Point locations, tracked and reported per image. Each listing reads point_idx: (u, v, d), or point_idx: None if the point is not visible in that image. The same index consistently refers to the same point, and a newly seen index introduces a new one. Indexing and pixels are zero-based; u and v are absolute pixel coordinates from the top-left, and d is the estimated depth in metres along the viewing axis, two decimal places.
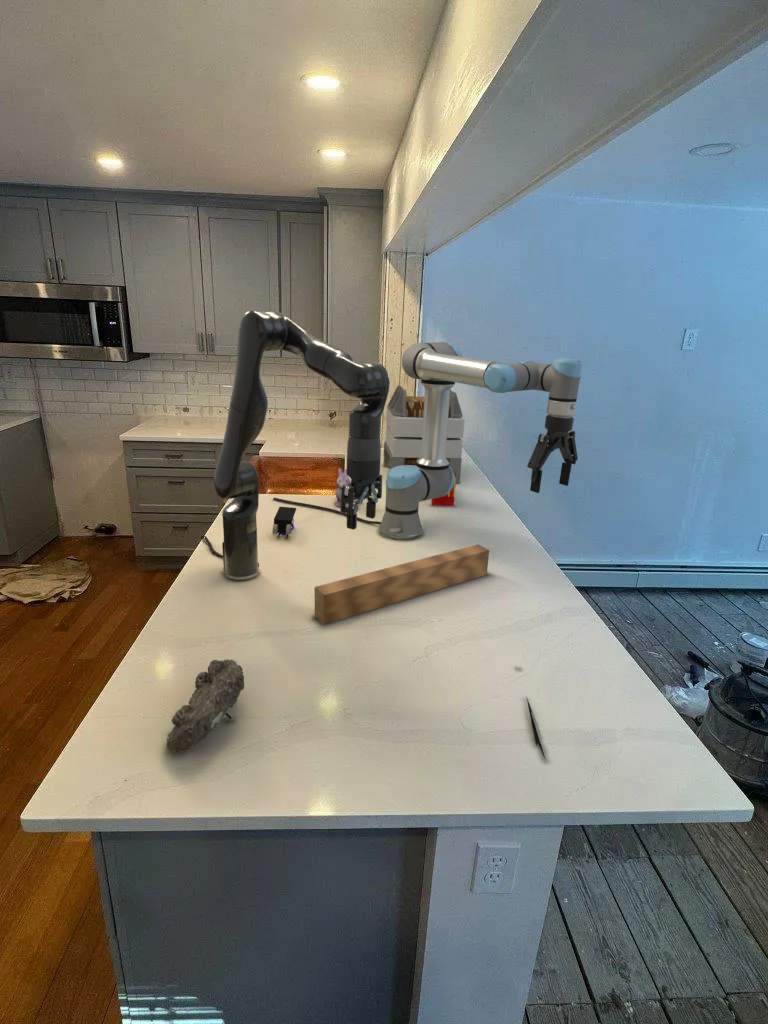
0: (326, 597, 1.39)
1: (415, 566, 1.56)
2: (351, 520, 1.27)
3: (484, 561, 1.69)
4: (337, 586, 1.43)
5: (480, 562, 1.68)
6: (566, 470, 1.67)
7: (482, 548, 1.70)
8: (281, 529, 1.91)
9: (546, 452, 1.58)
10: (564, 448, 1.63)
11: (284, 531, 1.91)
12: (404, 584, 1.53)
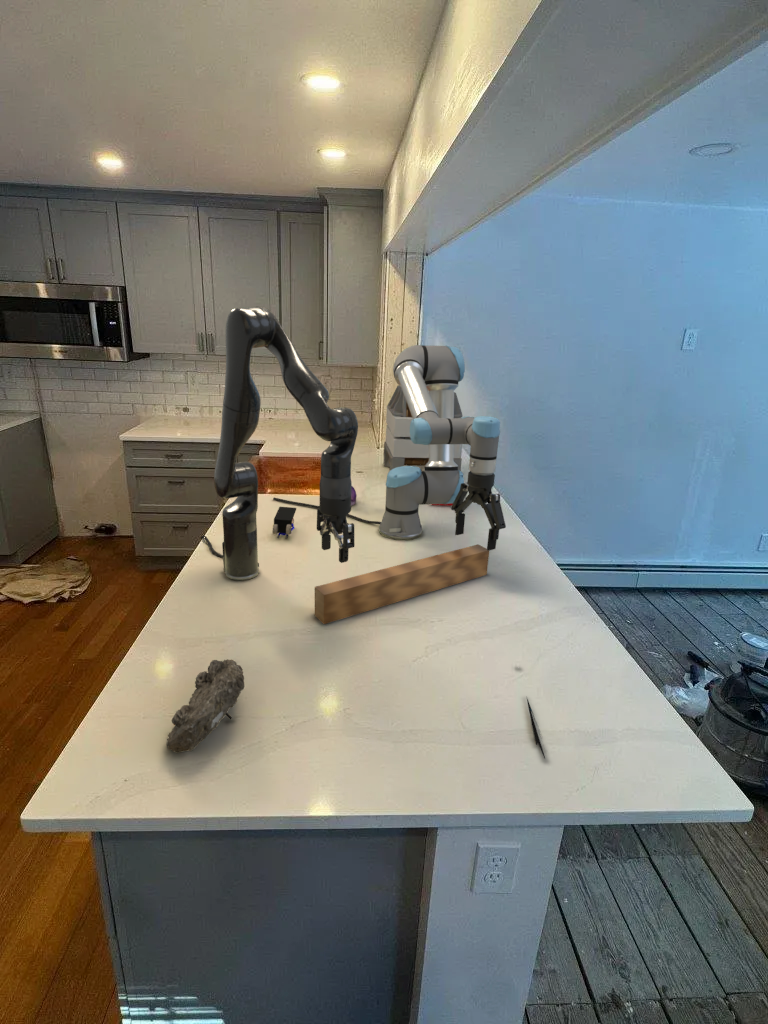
0: (326, 597, 1.39)
1: (415, 566, 1.56)
2: (347, 553, 1.35)
3: (484, 561, 1.69)
4: (337, 586, 1.43)
5: (480, 562, 1.68)
6: None
7: (482, 548, 1.70)
8: (281, 529, 1.91)
9: None
10: None
11: (284, 531, 1.91)
12: (404, 584, 1.53)
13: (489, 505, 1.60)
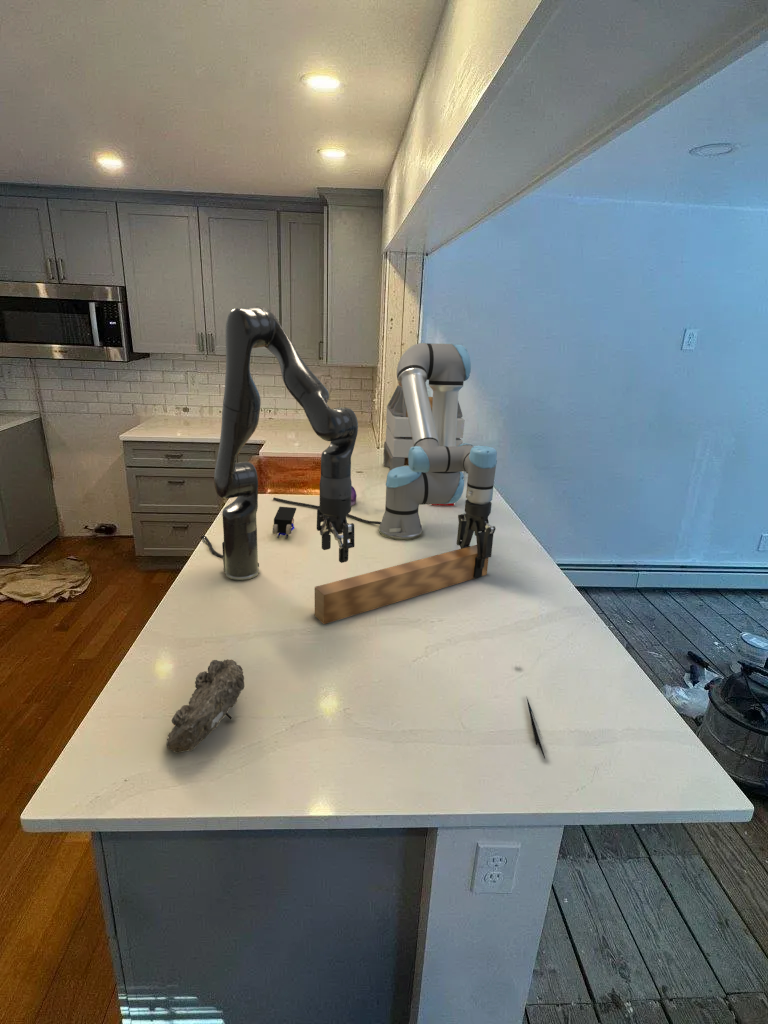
0: (326, 597, 1.39)
1: (415, 566, 1.56)
2: (347, 553, 1.35)
3: None
4: (337, 586, 1.43)
5: None
6: None
7: None
8: (281, 529, 1.91)
9: None
10: None
11: (284, 531, 1.91)
12: (404, 584, 1.53)
13: (482, 534, 1.65)
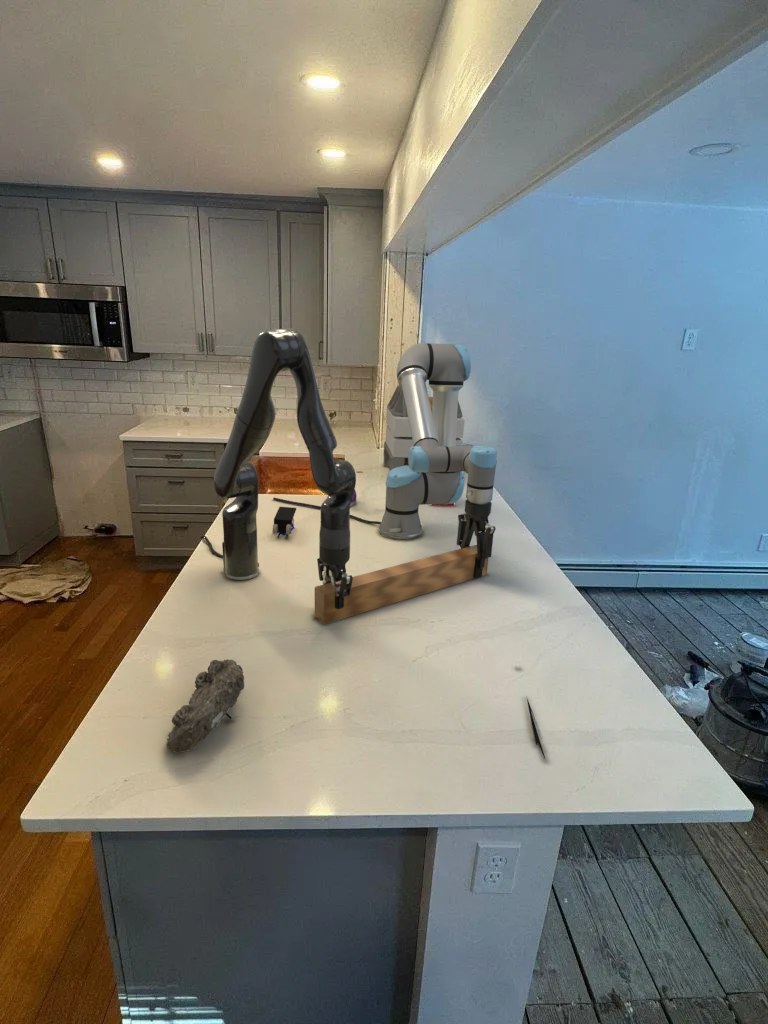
0: (326, 597, 1.39)
1: (415, 566, 1.56)
2: (343, 600, 1.41)
3: None
4: None
5: None
6: None
7: None
8: (281, 529, 1.91)
9: None
10: None
11: (284, 531, 1.91)
12: (404, 584, 1.53)
13: (482, 534, 1.65)
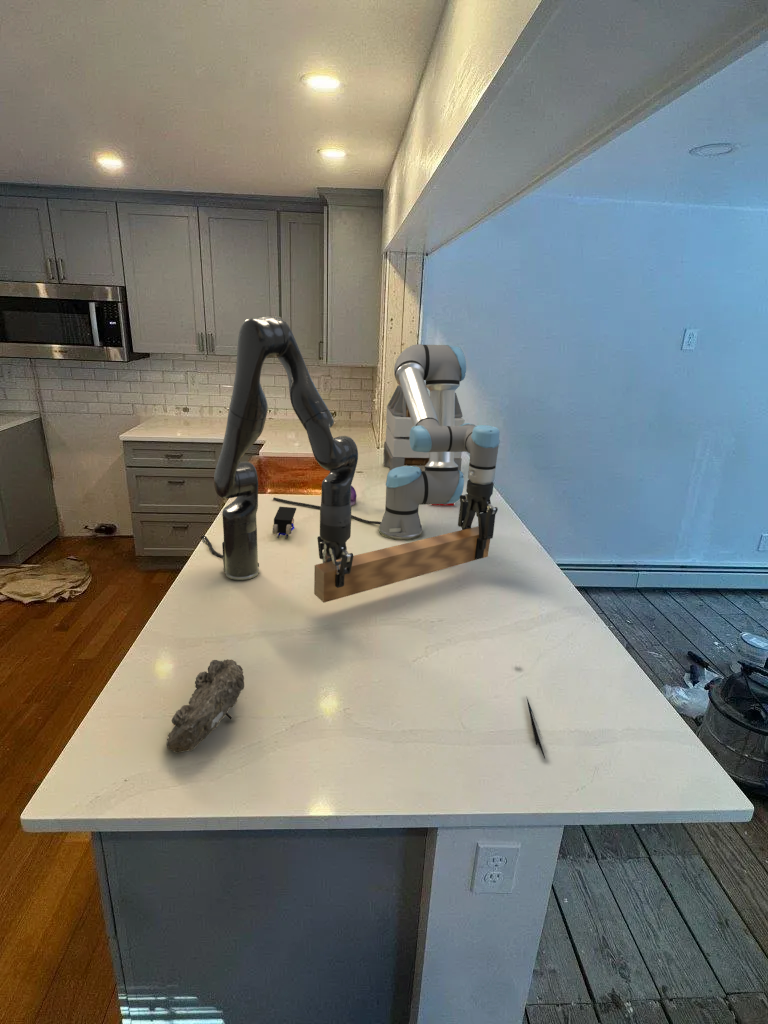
0: (326, 575, 1.38)
1: (416, 546, 1.55)
2: (343, 579, 1.39)
3: None
4: None
5: None
6: None
7: None
8: (281, 529, 1.91)
9: None
10: None
11: (284, 531, 1.91)
12: (405, 564, 1.52)
13: (484, 515, 1.63)
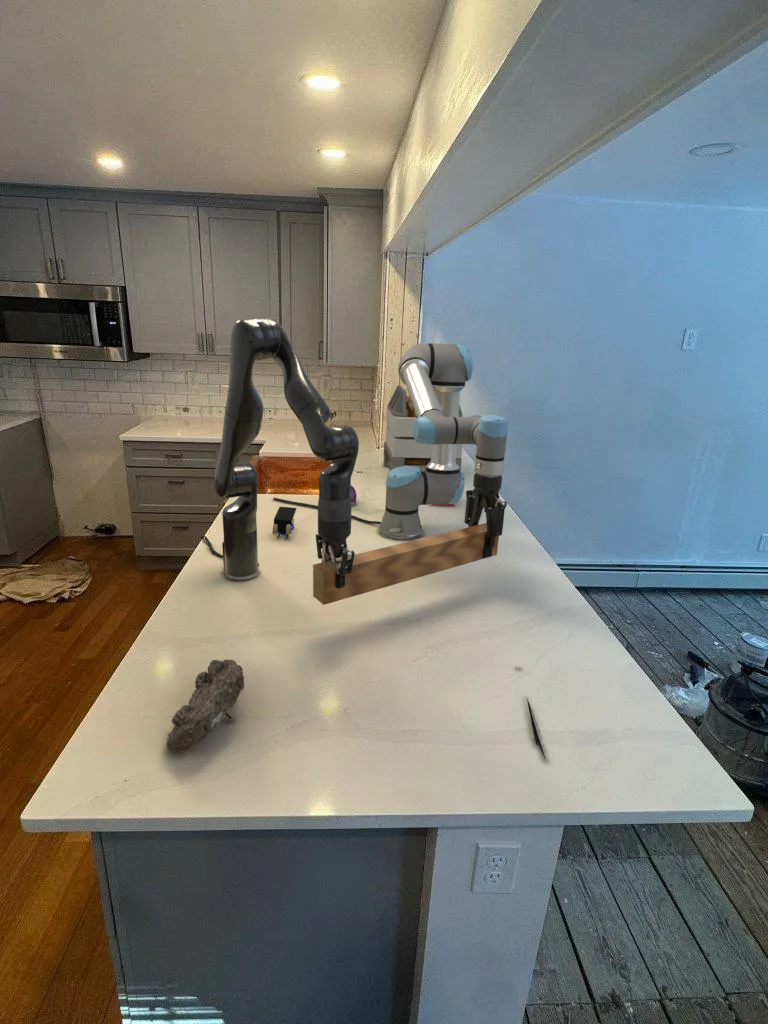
0: (326, 575, 1.28)
1: (421, 544, 1.45)
2: (344, 579, 1.30)
3: None
4: None
5: None
6: None
7: None
8: (281, 529, 1.91)
9: None
10: None
11: (284, 531, 1.91)
12: (410, 563, 1.42)
13: (492, 511, 1.54)
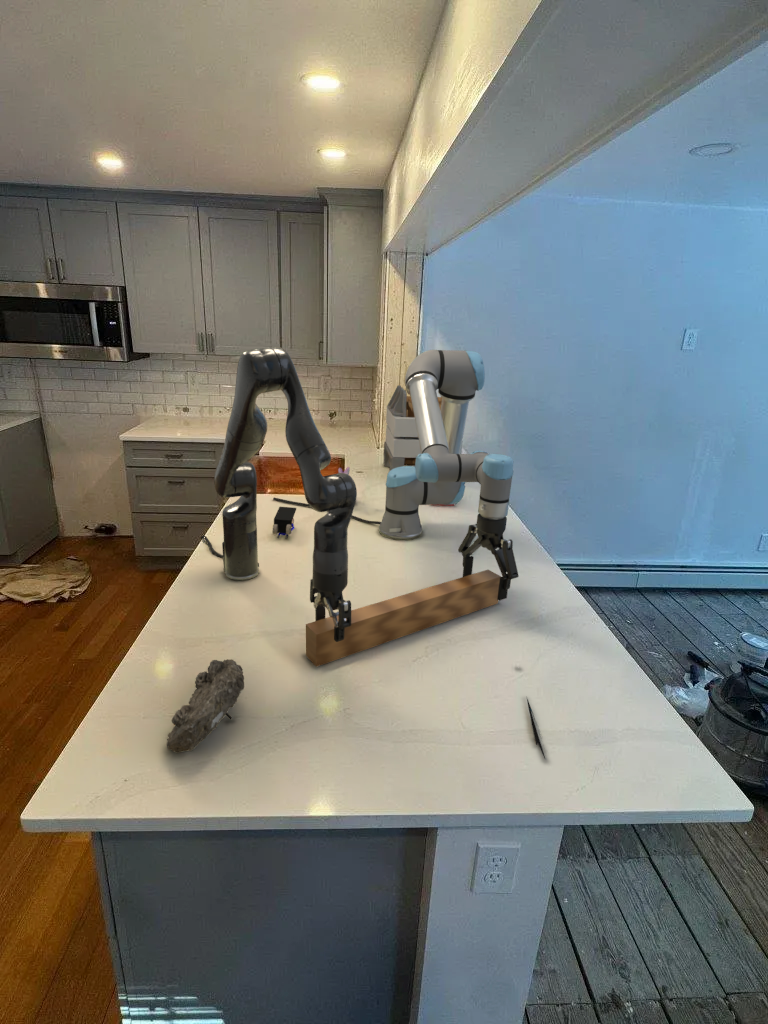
0: (319, 637, 1.22)
1: (419, 597, 1.39)
2: (343, 632, 1.22)
3: (495, 588, 1.53)
4: (331, 623, 1.26)
5: (491, 590, 1.52)
6: None
7: (493, 574, 1.53)
8: (281, 529, 1.91)
9: None
10: None
11: (284, 531, 1.91)
12: (407, 618, 1.36)
13: (500, 551, 1.46)
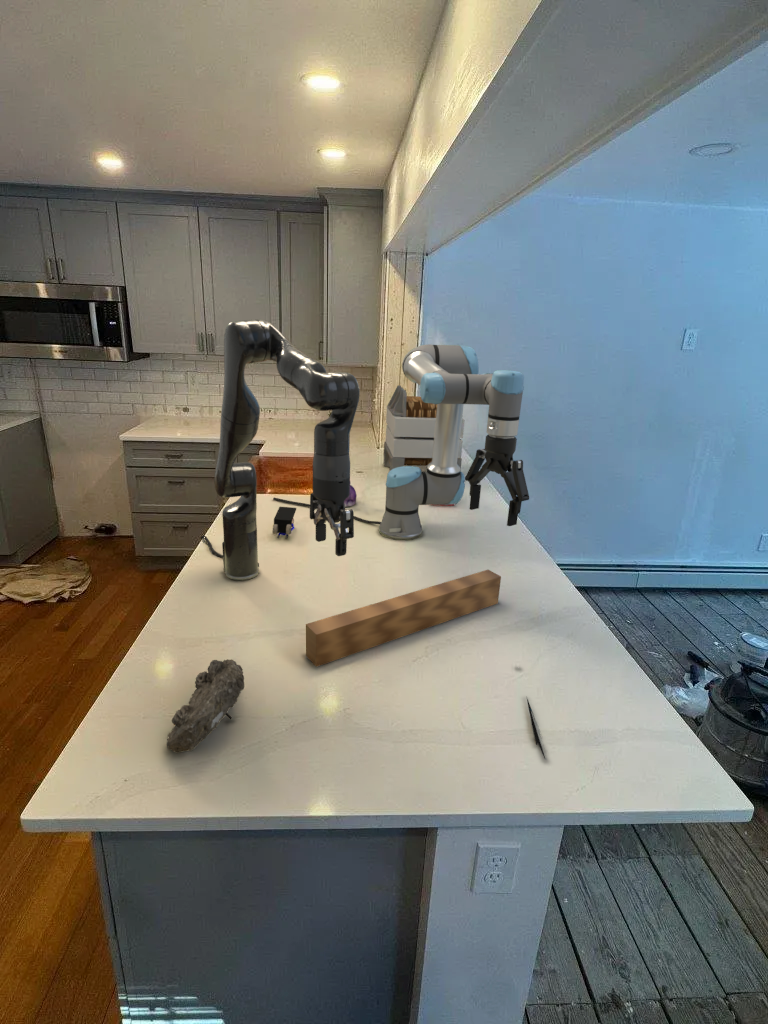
0: (319, 637, 1.22)
1: (419, 597, 1.39)
2: (345, 545, 1.15)
3: (495, 588, 1.53)
4: (331, 623, 1.26)
5: (491, 590, 1.52)
6: None
7: (493, 574, 1.53)
8: (281, 529, 1.91)
9: None
10: None
11: (284, 531, 1.91)
12: (407, 618, 1.36)
13: (510, 474, 1.39)
